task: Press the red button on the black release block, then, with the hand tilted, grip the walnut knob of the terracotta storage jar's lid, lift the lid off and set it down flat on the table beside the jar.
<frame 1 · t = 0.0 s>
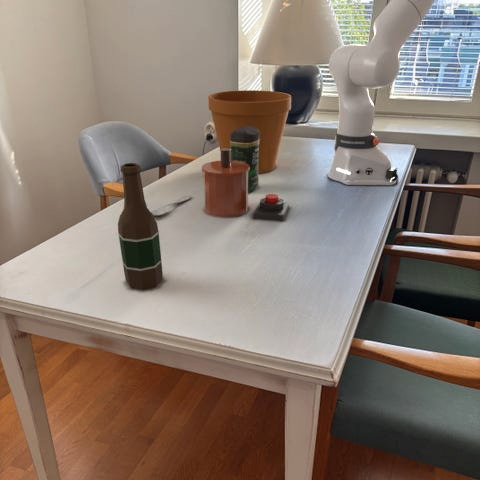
flowerpot: (249, 167, 176), on the table
lid: (225, 168, 131), point 11 cm above the table, touching jar
button: (272, 199, 133), point 4 cm above the table, slide at 0.1 cm
coffee jar: (244, 189, 154), on the table
spoon: (170, 208, 139), on the table
release block: (271, 213, 135), on the table
beer bottle: (144, 282, 101), on the table
jar: (226, 209, 137), on the table
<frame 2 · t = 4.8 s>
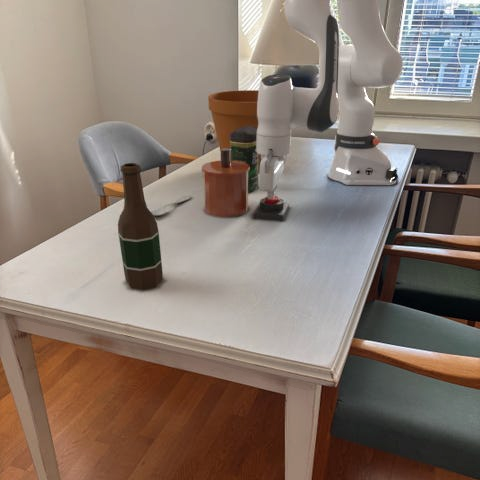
hand: (271, 197, 132), 4 cm above the table, tool pointing down, fingers closed, pressing on button
button: (272, 200, 133), point 4 cm above the table, slide at -0.4 cm, touching gripper
everything else where it was.
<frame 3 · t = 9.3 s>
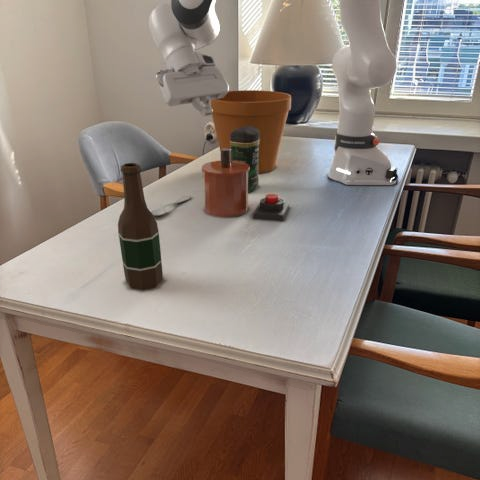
hand: (208, 114, 130), 24 cm above the table, tool tilted 40°, fingers closed
button: (272, 199, 133), point 4 cm above the table, slide at 0.1 cm
everything else where it was.
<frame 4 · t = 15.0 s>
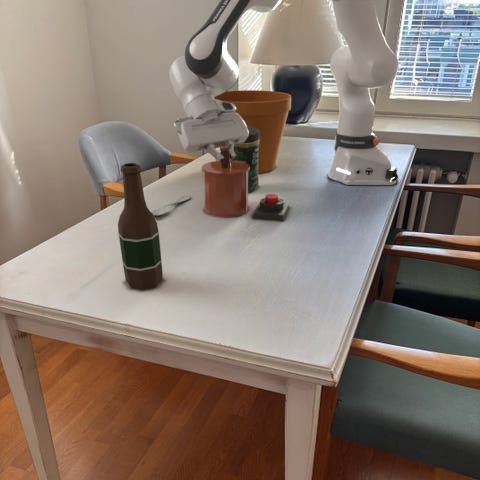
hand: (227, 159, 129), 14 cm above the table, tool tilted 45°, fingers closed on lid, 2 cm apart
lid: (225, 168, 131), point 12 cm above the table, touching gripper, jar
everything else where it was.
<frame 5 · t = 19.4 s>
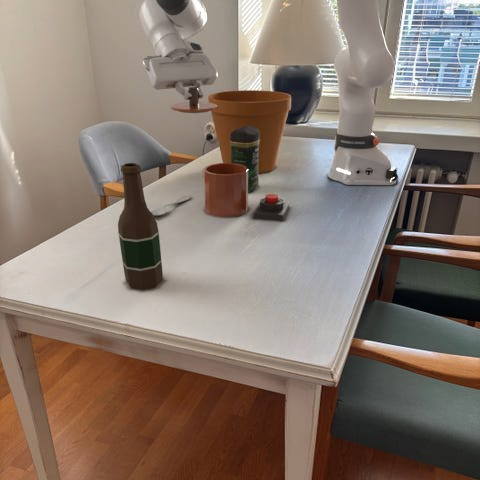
hand: (195, 97, 133), 28 cm above the table, tool tilted 45°, fingers closed on lid, 2 cm apart
lid: (194, 107, 135), point 25 cm above the table, touching gripper
everything else where it was.
when the fingers open (3 cm above the table, at t = 23.9 s): lid stays where it is, point 1 cm above the table.
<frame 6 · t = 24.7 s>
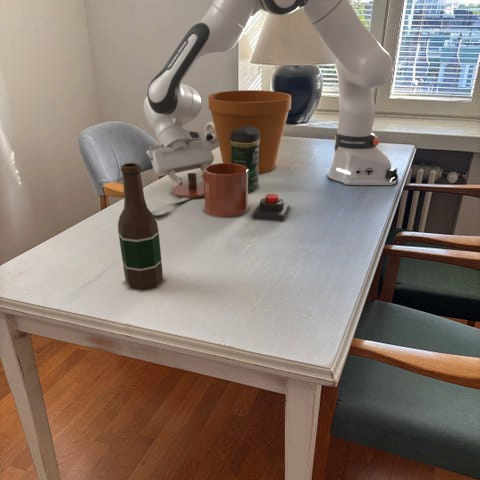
hand: (193, 181, 148), 4 cm above the table, tool tilted 45°, fingers open, 8 cm apart
lid: (192, 190, 150), point 1 cm above the table
everything else where it was.
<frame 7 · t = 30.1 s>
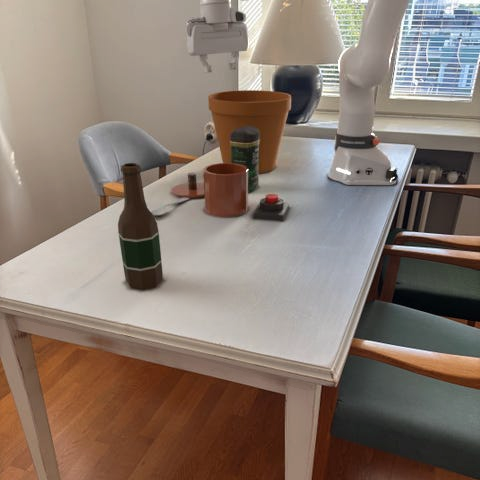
hand: (220, 70, 145), 33 cm above the table, tool pointing down, fingers open, 8 cm apart
nothing on the table moved.
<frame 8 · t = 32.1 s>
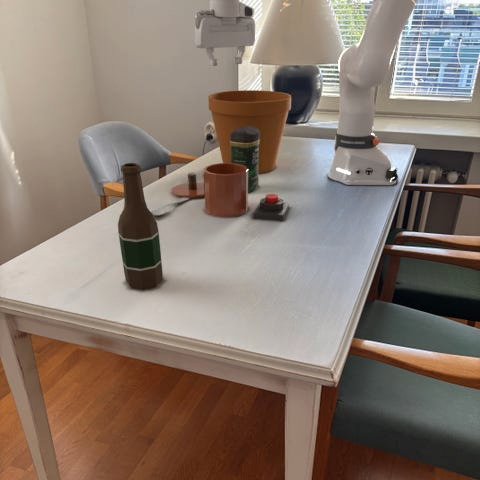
hand: (226, 64, 145), 34 cm above the table, tool pointing down, fingers open, 8 cm apart
nothing on the table moved.
at the end: button pushed in 1.0 cm at the most during the clip, back to where it started at the end; lid inside the target area (0.1 cm from its centre), point 0.6 cm above the table; lid tilted 0° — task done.
